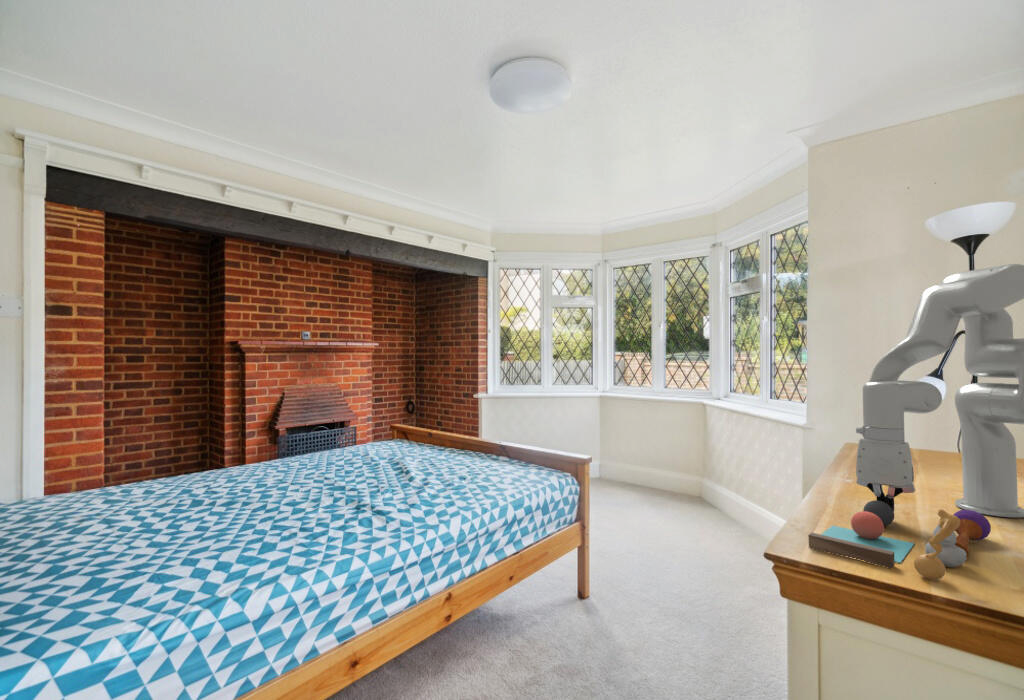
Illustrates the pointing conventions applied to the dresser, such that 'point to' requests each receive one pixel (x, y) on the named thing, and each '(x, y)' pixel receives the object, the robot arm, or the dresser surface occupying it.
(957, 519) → the figurine
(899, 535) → the dresser surface
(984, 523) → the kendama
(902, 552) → the teal mark
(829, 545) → the walnut rail
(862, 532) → the red ball
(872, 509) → the dark gray ball
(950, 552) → the gray statuette
